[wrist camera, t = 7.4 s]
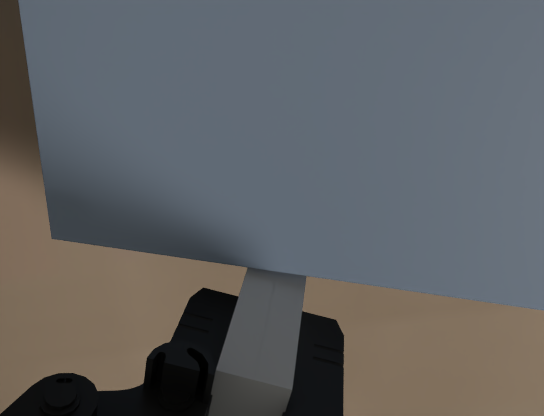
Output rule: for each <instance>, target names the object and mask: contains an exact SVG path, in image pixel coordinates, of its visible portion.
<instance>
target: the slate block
mask: <svg viewBox="0 0 544 416" xmlns="http://www.w3.org/2000/svg"><path fill="white" fill-rule="evenodd" d="M18 2H19V9H20V16H21V23H22V30H23V37H24V44H25V51H26V59H27V66H28V73H29V80H30V87H31V94H32V101H33V108H34V116H35V123H36V130H37V137H38V144H39V151H40V158H41V165H42V173H43V180H44V187H45V194H46V201H47V208H48V215H49V222H50V230H51V237H52V239H57V240H64V241H71V242H78V243H85V244H91V245H98V246H105V247H112V248H119V249H126V250H133V251H139V252H146V253H153V254H160V255H167V256H174V257H181V258H187V259H194V260H201V261H208V262H215V263H222V264H229V265H235V266H242V267H249V268H256V269H263V270H270V271H277V272H283V273H290V274H297V275H304V276H311V277H318V278H325V279H331V280H338V281H345V282H352V283H359V284H366V285H373V286H380V287H386V288H393V289H400V290H407V291H414V292H421V293H428V294H434V295H441V296H448V297H455V298H462V299H469V300H476V301H482V302H489V303H496V304H503V305H510V306H517V307H524V308H530V309H537V310H544V0H18Z"/></svg>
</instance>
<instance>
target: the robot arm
mask: <svg viewBox="0 0 544 416" xmlns="http://www.w3.org/2000/svg"><path fill="white" fill-rule="evenodd" d="M305 283H306V276H304V275H297V274H290V273H283V272H277V271H270V270H263V269H256V268H249V267H248V269H247V272H246V275H245V278H244V281H243V285H242V288H241V291H240V294H239V297H238V296H234V295H230V294H226V293H222V292H219V291H215V290H211V289H207V288H202V289H201V290H200V291H198V292H197V293H196V294H194V295H193V296H192V297H191V298H190V299H189V301H188V304H187V306H186V308H185V310H184V313H183V315H182V317H181V319H180V321H179V324H178V326H177V328H176V330H175V332H174V335H173V337H172V339H171V341H170V342H169V343H164V344H162V345H161V346H159V347H157V348H155V349H154V350H153V351H152V352H151V353H150V355H149V356H148V357H147V361H146V370H145V378H144V383H143V384H142V385H140V386H138V387H134V388H131V389H127V390H119V391H97V390H96V387H95V385H94V384H93V383H92V382H91V381H90V380H88V379H87V378H86V377H84V376H81V375H77V374H74V373H58V374H55V375H51V376H48V377H45V378H43V379H42V380H40V381H38V382H37V383H35V384H34V385H32V386H31V387H30V388H29V389H28V390H27V391H26V392H24V393H23V394H22V395H21V396H20V397H19V398H18V399H17V400H16V401H14V402H13V403H12V404H11V405H10V406H9V407H8V408H7V409H6V410H4V411H3V412H2V413H1V414H0V416H343V376H344V367H343V364H344V354H343V352H344V335H343V333H342V331H341V329H340V327H339V325H338V323H337V321H336V320H334V319H330V318H326V317H322V316H318V315H314V314H310V313H307V312H303V311H302V307H303V299H304V291H305Z"/></svg>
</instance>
